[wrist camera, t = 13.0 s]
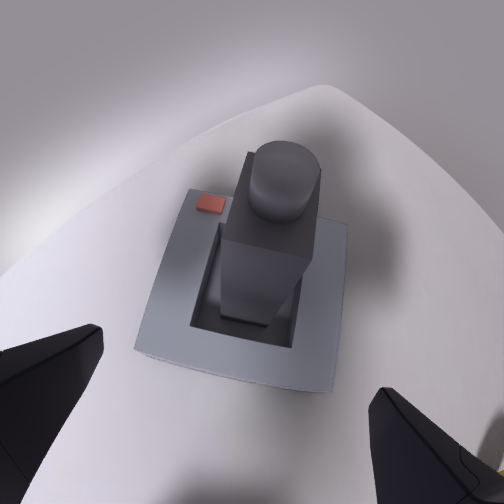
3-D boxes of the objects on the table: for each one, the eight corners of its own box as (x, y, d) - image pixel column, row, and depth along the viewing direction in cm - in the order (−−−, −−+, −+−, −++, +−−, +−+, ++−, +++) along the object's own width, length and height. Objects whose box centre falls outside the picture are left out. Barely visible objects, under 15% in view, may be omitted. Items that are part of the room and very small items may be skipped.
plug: (266, 328, 20) (330, 230, 8) (220, 318, 20) (222, 204, 8) (277, 270, 22) (335, 134, 10) (234, 261, 22) (252, 115, 10)
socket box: (314, 392, 19) (333, 392, 16) (147, 356, 19) (131, 347, 16) (332, 246, 25) (349, 221, 21) (192, 214, 25) (188, 185, 21)
